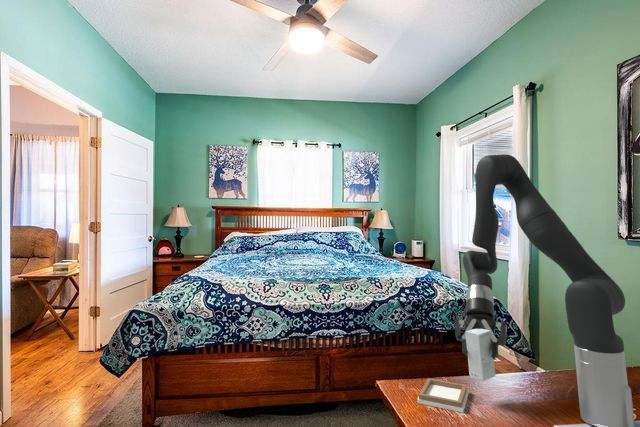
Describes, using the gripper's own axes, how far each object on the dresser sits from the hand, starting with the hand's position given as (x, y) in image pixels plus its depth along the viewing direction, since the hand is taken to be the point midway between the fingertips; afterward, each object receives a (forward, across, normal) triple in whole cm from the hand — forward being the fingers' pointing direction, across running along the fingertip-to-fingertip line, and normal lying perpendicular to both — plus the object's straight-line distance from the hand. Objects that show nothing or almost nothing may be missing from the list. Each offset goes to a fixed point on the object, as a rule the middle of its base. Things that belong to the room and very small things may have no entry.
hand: (479, 355), depth 90 cm
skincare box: (+3, 0, +6) cm, 6 cm away
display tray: (+10, -10, +7) cm, 16 cm away
